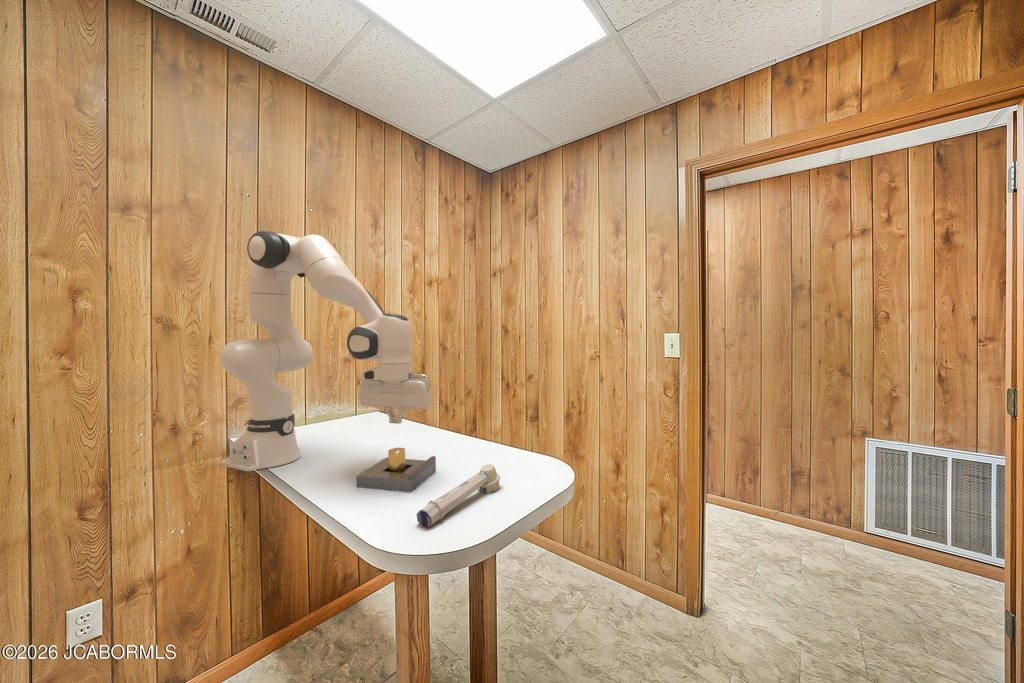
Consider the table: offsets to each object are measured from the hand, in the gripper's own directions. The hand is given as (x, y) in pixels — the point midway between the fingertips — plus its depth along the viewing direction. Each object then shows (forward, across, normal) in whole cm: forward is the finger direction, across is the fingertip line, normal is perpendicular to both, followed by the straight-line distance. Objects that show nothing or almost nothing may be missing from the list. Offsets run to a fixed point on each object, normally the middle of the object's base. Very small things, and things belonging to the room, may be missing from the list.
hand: (395, 422), depth 101 cm
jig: (+15, -1, 0) cm, 16 cm away
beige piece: (+15, -24, +10) cm, 30 cm away
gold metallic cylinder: (+15, -1, 0) cm, 16 cm away
